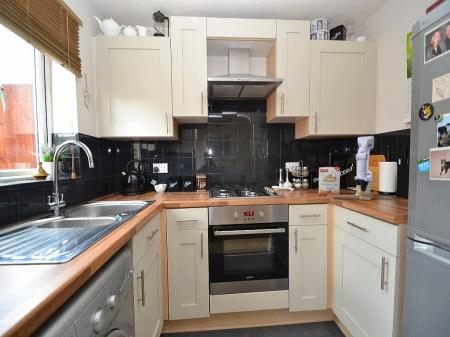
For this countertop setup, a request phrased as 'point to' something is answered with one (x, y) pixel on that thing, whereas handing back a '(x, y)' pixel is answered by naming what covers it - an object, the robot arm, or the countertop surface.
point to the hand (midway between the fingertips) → (361, 190)
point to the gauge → (363, 194)
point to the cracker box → (329, 180)
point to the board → (344, 197)
